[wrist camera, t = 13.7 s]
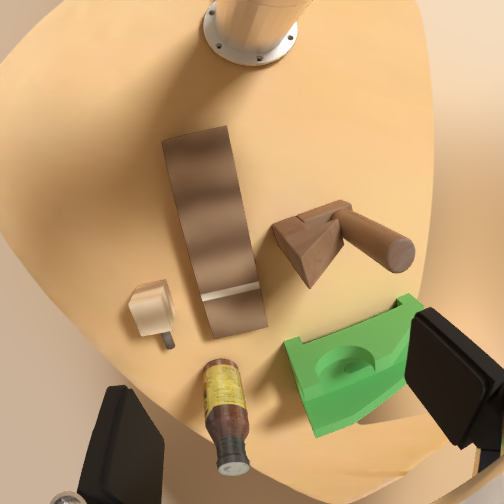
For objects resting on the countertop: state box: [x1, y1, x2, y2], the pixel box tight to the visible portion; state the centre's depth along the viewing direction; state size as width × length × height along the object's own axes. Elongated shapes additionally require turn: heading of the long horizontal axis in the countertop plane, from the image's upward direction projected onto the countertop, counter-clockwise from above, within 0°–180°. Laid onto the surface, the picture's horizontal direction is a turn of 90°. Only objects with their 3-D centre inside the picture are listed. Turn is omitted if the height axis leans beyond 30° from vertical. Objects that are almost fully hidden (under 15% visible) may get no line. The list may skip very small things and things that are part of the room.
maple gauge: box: [128, 279, 176, 349], centre depth 41 cm, size 10×4×6 cm, turn 11°
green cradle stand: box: [284, 293, 424, 438], centre depth 46 cm, size 24×13×12 cm, turn 106°
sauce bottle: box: [203, 359, 250, 476], centre depth 39 cm, size 7×6×20 cm
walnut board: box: [161, 126, 268, 339], centre depth 40 cm, size 28×8×3 cm, turn 11°
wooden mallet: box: [272, 200, 415, 289], centre depth 34 cm, size 4×11×18 cm, turn 109°
